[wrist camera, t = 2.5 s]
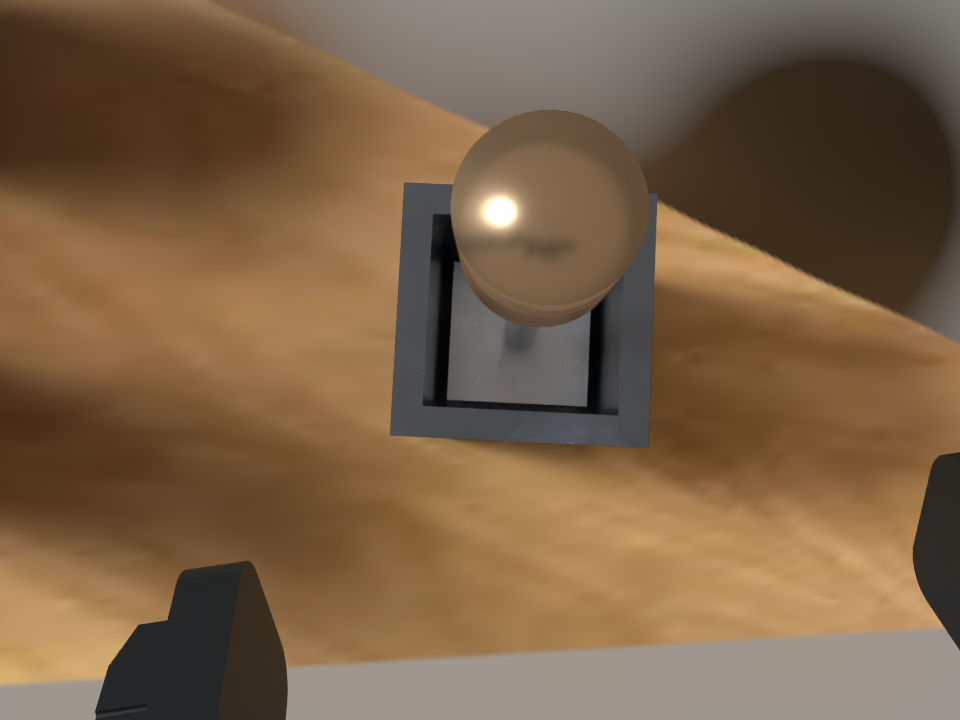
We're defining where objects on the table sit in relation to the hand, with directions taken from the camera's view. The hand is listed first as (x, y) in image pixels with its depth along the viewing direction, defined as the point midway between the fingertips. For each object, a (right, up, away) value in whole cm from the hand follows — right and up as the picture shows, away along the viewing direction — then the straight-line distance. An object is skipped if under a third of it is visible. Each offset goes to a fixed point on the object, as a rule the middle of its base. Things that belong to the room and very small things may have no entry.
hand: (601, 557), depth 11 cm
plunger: (0, +3, +33) cm, 33 cm away
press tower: (+1, +3, +42) cm, 42 cm away
